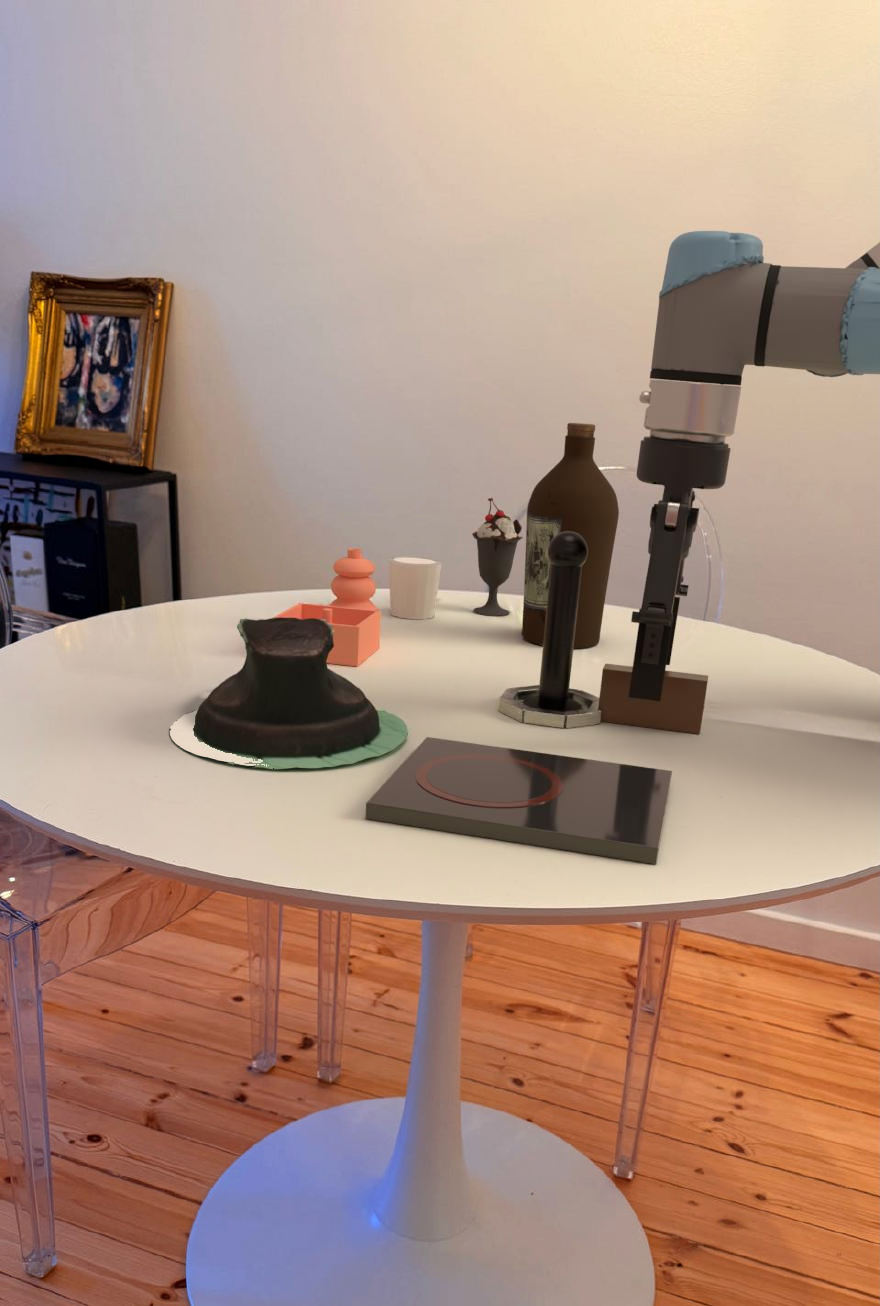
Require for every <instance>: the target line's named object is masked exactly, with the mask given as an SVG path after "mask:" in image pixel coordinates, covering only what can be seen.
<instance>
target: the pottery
mask: <svg viewBox="0 0 880 1306" xmlns="http://www.w3.org/2000/svg"><path fill="white" fill-rule="evenodd" d="M362 551H363V549H361V548H353V547H352V548H347V556H345V557H341V558H339V559H337V560H336V561H335V562H334V563H333V566H332V569H333V571H334V572H335V574H337V576H334V578H333V579H332V581H331V584H330V590H331V592H332V594H333V595H334V596H335V597H336V598H335V599H333V600H332V602H330V604H329V605H325V604H315V603H306V602H305V603H304V602H298V603H296V604H295V605H293V606H291V607H289V608H288V609H285V610H284V611H282V612H280V613H278V614H277V615H275V616H273V617H272V618H274V617H275V618H278V617H280V618H298V619H302V620H303V619H310V618H315V619H319V620H324V619H325V620H326V621H327V624H328V625H333V628H332V629H331V631H334V633H333V642H334V647H333V648H332V650H331V651H330V652H329V654H328V658H327V661H326V662H327V664H331V665H341V666H349V667H360V665H361V664H362V663H363V662H365V661H366V660H368V658H369V657H371V656H372V655H373V654H374V653H375V652H376V651H378V650H379V649H380V644H381V643H380V641H381V618H382V617H381V615H382V611H381V610H379V609H378V608H377V606H376V604H375V603H374V602H373V601H371V600H370V599H371V598H372V597H374V595H375V594H376V590H377V586H376V582H375V580H374V579H373V578H372V577H370V576H372V575H373V574H374V573H375V571H376V567H375V564H374V563H373V562H372V561H371V560H369V559H367V558H364V557H362V554H363V553H362Z"/></svg>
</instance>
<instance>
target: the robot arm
mask: <svg viewBox="0 0 880 1306" xmlns="http://www.w3.org/2000/svg"><path fill="white" fill-rule="evenodd" d="M763 252H764V243H763V241H762V240H761V239H760V237H758V236H756V235H753V234H749V233H744V232H728V231H725V230H695V231H687V232H684V233H682V234H679V235H678V236H676V237H675V239H674V240H673V241H672V242H671V243H670V246H669V248H668V253H667V259H666V264H665V269H664V274H663V280H662V286H661V290H660V291H659V293H658V308H657V316H656V324H655V333H654V341H653V348H652V358H651V366H650V369H651V370H650V373H649V384H648V386H649V389H650V391H649V390H644V391H641V393H640V394H639V400H638V401H639V402H640V403H641V404H646V405H647V404H649V405H648V406H647V407H646V408H645V413H644V420H643V427H644V428H645V430H649V436H644V437H643V439H642V440H640V445H639V453H638V460H637V467H636V478H637V479H638V480H639V481H640V482H642V483H645V484H650V485H658V486H663V493H662V499H661V500H658V502H657V503H654V504H653V506H651V511H650V520H649V528H650V533H649V537H648V543H647V552H648V555H649V561H648V566H647V571H646V578H645V584H644V591H643V596H642V602H641V607H640V608H639V610H638V611H634V610H633V611H632V613H631V619H630V620H631V621H630V622H631V623H636V624H638V628H637V634H636V640H635V641H636V642H635V650H634V655H633V663H632V667H633V669H632V676H631V683H630V690H629V697H631V698H638V699H646V700H653V701H660V700H661V695H662V688H663V682H664V675H665V671H666V667H667V666H670V665H671V659H672V653H673V646H674V641H675V640H674V639H675V633H676V627H677V620H678V615H679V608H680V601H681V597H688V593H689V586H690V585H689V584H683V582H684V576H683V574H684V567H685V560H686V559H687V558H688V557H689V552H690V549H691V546H692V543H693V536H694V533H695V532H696V531H697V526H698V521H699V515H700V508H699V507H693V503H694V502H695V500H696V492H695V490H694V489H699V490H718V489H721V488H722V487H723V486H725V484H726V480H727V475H728V474H727V472H728V467H729V460H730V455H731V447H729V446H730V444H728V443H726V437H731V436H732V435H734V434H735V427H736V422H737V416H738V411H739V410H738V409H739V405H740V404H739V403H740V398H741V391H742V386H741V385H742V381H743V372H744V369H745V366H755V367H772V368H781V369H782V368H783V369H793V370H803V371H804V370H805V371H807V372H808V373H811V374H812V375H815V376H818V377H822V378H823V377H824V378H838V377H841V376H844V375H850V376H863V375H880V242H878V243H877V244H876V245H874V246H873V247H872V248H870V249H869V250H867V251H866V252H865V253H864V254H863V255H862V256H860V257H859V258H857V259H856V260H854V261H853V262H851V263H850V264H848V265H847V266H846V267H817V266H816V267H815V266H786V265H780V264H772V263H769V262H768V263H767V262H764V259H765V257H764V255H763V254H764V253H763Z"/></svg>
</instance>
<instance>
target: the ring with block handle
mask: <svg viewBox="0 0 880 1306" xmlns="http://www.w3.org/2000/svg"><path fill="white" fill-rule="evenodd" d="M632 669H633V666H631V665H622V664H614V663H604V666H603V668H602V672H601V681H600V689H599V697H598V696H596V695H594V694H592V693H589V692H587V691H585V690H582V689H580V690H579V689H577V688H569V694H568V699H571V700H574V701H576V702H578V703H580V704H581V705H582V710H574V711H566V712H560V711H552V710H544V709H537V708H530V707H528V706H526V705H524V704H523V700H524V699H526V698H528V697H533V696H538V694H539V684H535V685H526V686H517V687H508V688H506V690H504V692H503V693H502V694H501V696H500V697H499V698H498V707H497V710H498V711H499V713H502V714H504V715H506V716H508V717H510V718H511V719H513V720H516V721H518V722H519V723H524V724H528V725H529V724H530V725H536V726H543V727H544V726H545V727H551V728H552V727H553V728H560V729H564V728H565V729H572V728H579V727H586V726H594V725H600V724H601V722H602V723H603V722H604V723H611V724H619V725H626V726H633V727H634V726H635V727H641V728H649V729H657V730H663V731H664V730H665V731H671V732H678V733H679V732H680V733H686V734H687V733H688V734H696V735H700V734H701V729H702V722H703V715H704V709H705V703H706V696H707V689H708V682H709V675H708V674H707V675H706V674H697V673H691V672H690V673H689V672H682V671H681V672H680V671H672V670H665V675H664V682H663V688H662V695H661V700H660V701H653V700H646V699H638V698H631V697H629V690H630V683H631V676H632Z"/></svg>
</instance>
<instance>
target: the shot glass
mask: <svg viewBox="0 0 880 1306" xmlns="http://www.w3.org/2000/svg"><path fill="white" fill-rule="evenodd" d="M442 564H443V562H442V561H440V560H438V559H434V558H429V557H424V556H423V557H422V556H395V557H391V558H389V559H388V581H389V601H390V614H391V615H392V616H393V617H396V616H397V617H396V618H400V619H406V620H427V619H428V620H429V619H432V618H434V616H435V611H436V604H437V597H438V592H439V591H438V590H439V585H440V577H441V571H442V566H443V565H442Z"/></svg>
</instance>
